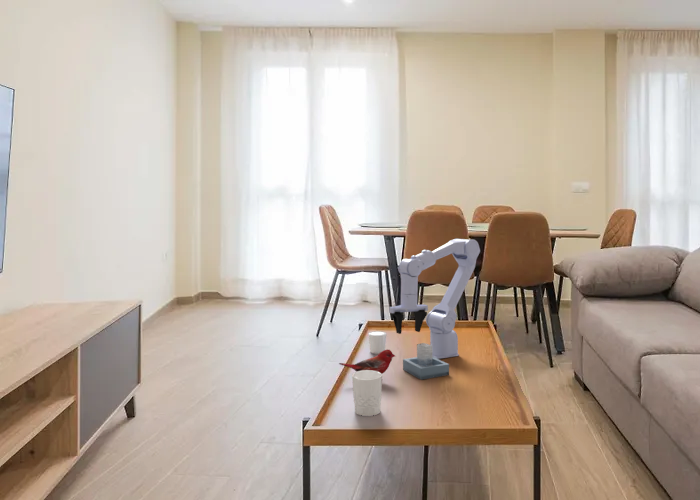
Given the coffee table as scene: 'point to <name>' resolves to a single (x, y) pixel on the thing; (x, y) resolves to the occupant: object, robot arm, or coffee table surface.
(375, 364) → the decorative bird figurine
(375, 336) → the off-white tapered cylinder
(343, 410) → the coffee table surface
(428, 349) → the grey t-shaped bar
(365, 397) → the white cup
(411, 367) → the slate well
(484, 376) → the coffee table surface
